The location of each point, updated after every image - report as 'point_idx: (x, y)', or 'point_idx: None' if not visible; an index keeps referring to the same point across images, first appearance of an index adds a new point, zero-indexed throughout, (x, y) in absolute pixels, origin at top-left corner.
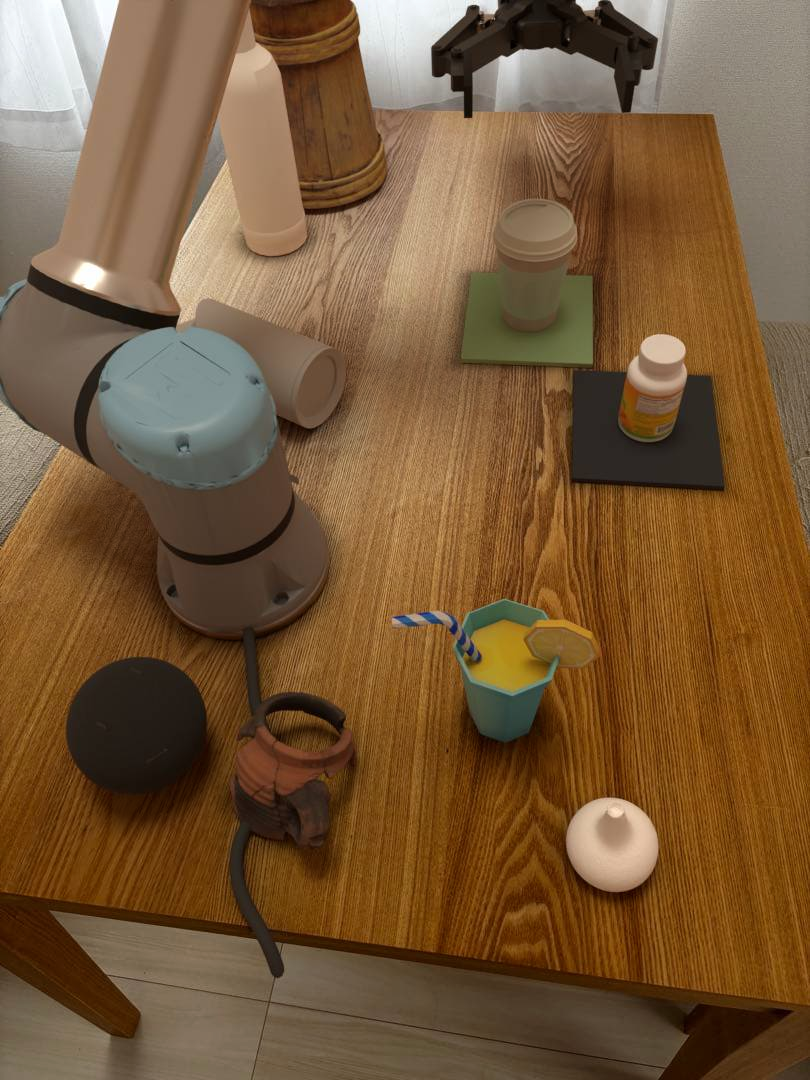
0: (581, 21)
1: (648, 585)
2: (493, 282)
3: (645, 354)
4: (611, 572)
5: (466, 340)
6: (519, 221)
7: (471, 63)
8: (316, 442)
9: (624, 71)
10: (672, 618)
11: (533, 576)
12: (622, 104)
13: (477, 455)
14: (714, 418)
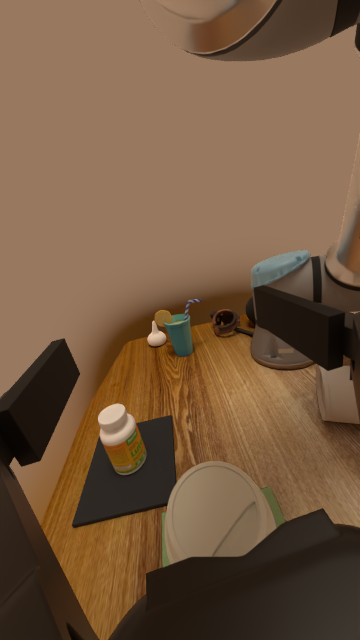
0: (5, 597)
1: (142, 389)
2: None
3: (123, 406)
4: (155, 388)
5: (278, 513)
6: (235, 502)
7: (293, 301)
8: (310, 398)
9: (54, 350)
10: (136, 382)
11: (182, 379)
12: (75, 367)
13: (221, 417)
14: (87, 476)
